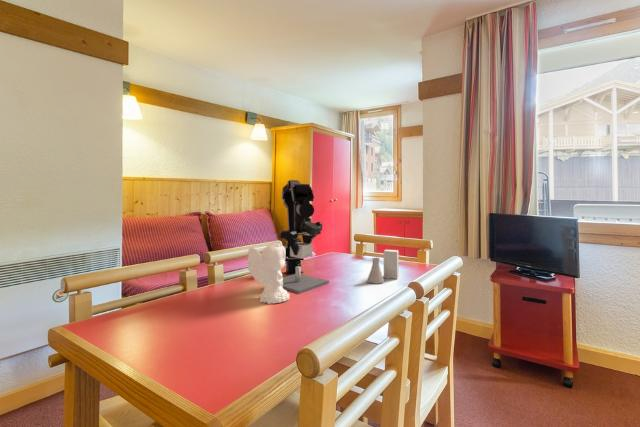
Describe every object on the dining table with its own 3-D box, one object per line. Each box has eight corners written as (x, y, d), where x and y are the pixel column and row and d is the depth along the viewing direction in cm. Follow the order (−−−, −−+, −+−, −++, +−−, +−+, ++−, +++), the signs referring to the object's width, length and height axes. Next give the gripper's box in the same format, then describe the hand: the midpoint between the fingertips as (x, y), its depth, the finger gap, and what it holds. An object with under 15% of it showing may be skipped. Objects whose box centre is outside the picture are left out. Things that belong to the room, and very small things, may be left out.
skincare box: (398, 277, 148) (399, 250, 147) (397, 279, 144) (397, 251, 143) (384, 275, 151) (385, 248, 150) (382, 278, 147) (383, 250, 146)
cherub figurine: (264, 307, 110) (264, 247, 108) (246, 298, 119) (245, 242, 118) (296, 299, 119) (296, 243, 117) (277, 290, 128) (276, 239, 126)
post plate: (266, 284, 136) (266, 267, 135) (296, 275, 150) (296, 260, 149) (299, 293, 125) (299, 275, 124) (328, 282, 139) (329, 266, 138)
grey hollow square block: (290, 256, 135) (290, 244, 135) (300, 253, 140) (300, 241, 140) (302, 258, 131) (302, 246, 131) (312, 255, 136) (312, 243, 136)
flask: (383, 279, 144) (383, 256, 143) (385, 284, 137) (385, 260, 136) (366, 279, 145) (366, 256, 144) (367, 283, 138) (367, 260, 137)
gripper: (301, 218, 122) (301, 260, 123) (331, 214, 137) (330, 252, 138) (279, 216, 129) (279, 256, 130) (310, 213, 143) (309, 249, 145)
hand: (301, 253), depth 136 cm, fingers closed on grey hollow square block, 6 cm apart
